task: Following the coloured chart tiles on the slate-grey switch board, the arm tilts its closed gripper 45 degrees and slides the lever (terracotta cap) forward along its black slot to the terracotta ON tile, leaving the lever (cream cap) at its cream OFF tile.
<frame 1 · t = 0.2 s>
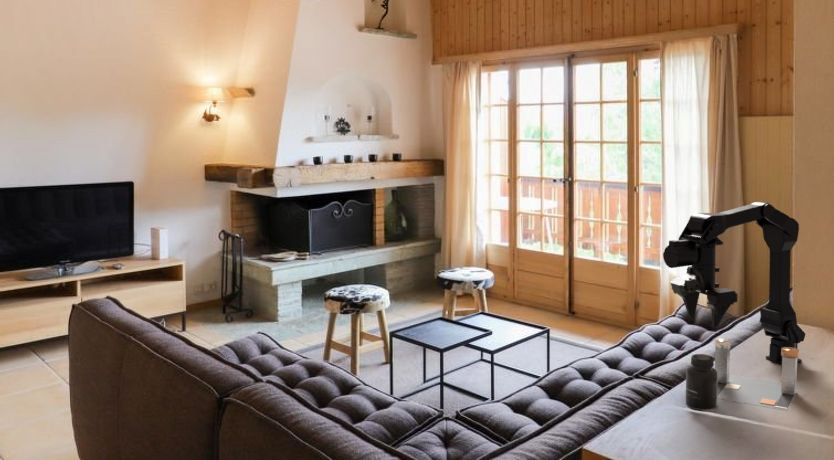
hand: (703, 322, 181), 14 cm above the table, tool pointing down, fingers open, 9 cm apart
lever 1: (722, 360, 176), point 6 cm above the table, slide at 0.0 cm
switch board: (752, 392, 171), on the table
supplement bottle: (701, 407, 165), on the table
lever 2: (789, 371, 167), point 6 cm above the table, slide at 0.0 cm
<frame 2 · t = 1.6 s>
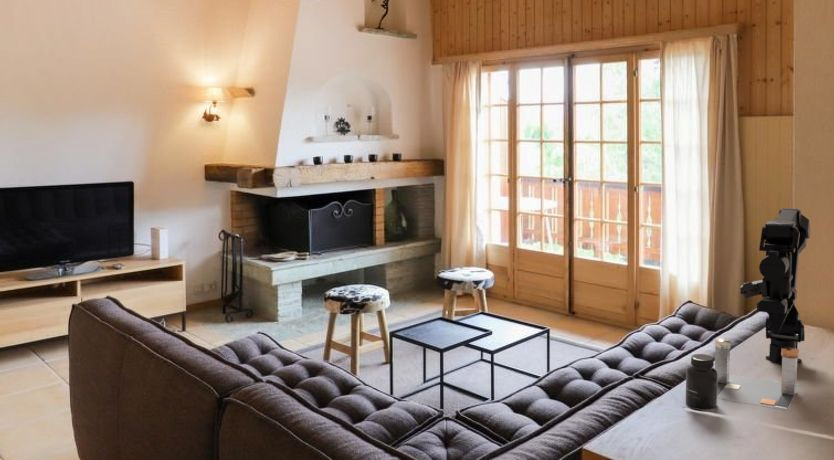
hand: (776, 332, 178), 12 cm above the table, tool pointing down, fingers closed
nothing on the table moved.
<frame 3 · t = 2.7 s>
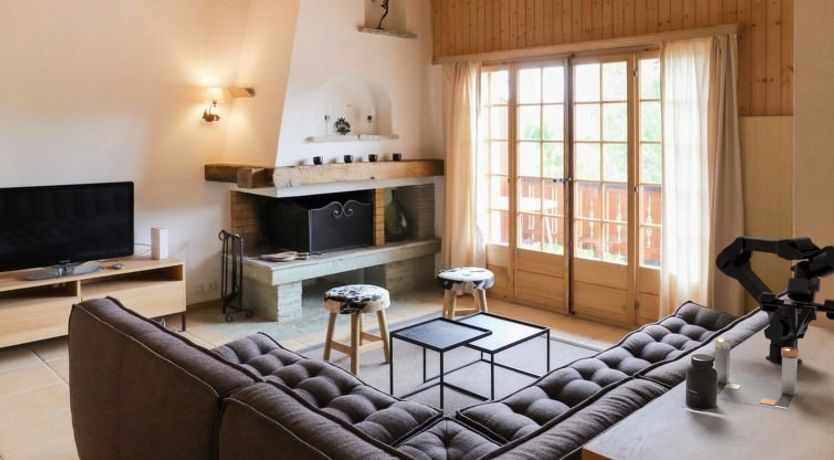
hand: (795, 335, 174), 12 cm above the table, tool tilted 45°, fingers closed
nothing on the table moved.
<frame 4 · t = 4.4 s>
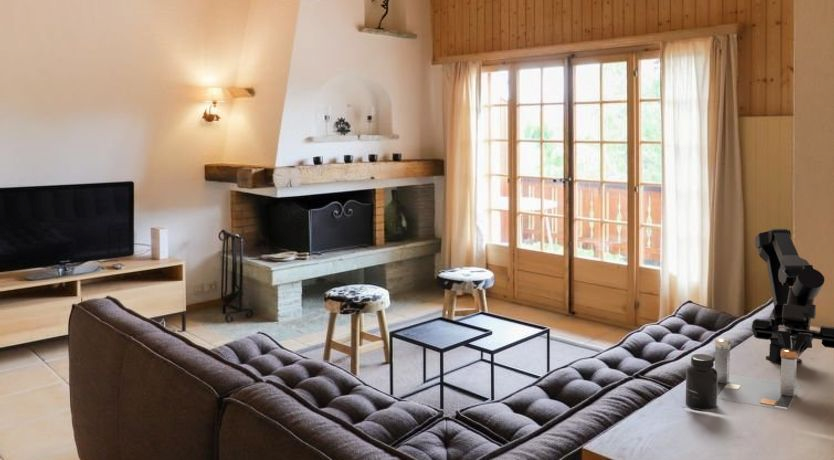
hand: (790, 363, 168), 8 cm above the table, tool tilted 45°, fingers closed, pressing on lever 2
lever 2: (788, 372, 167), point 6 cm above the table, slide at 1.0 cm, touching gripper
everything else where it was.
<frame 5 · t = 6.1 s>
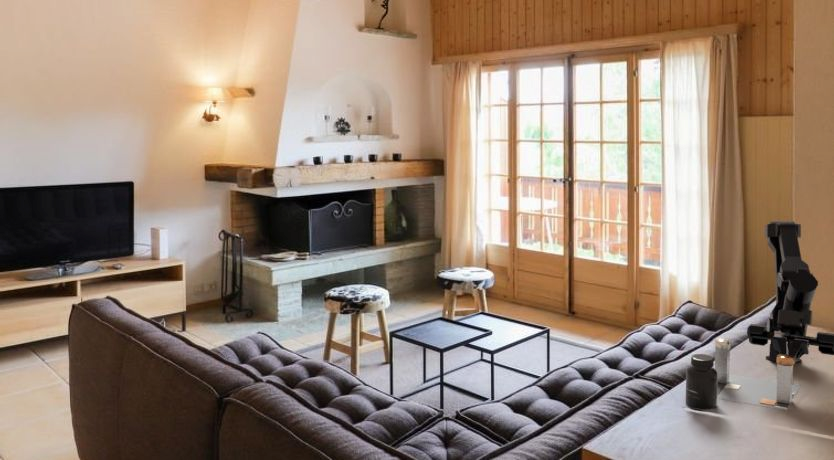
hand: (786, 370, 164), 8 cm above the table, tool tilted 45°, fingers closed
lever 2: (784, 378, 163), point 6 cm above the table, slide at 6.0 cm
everything else where it was.
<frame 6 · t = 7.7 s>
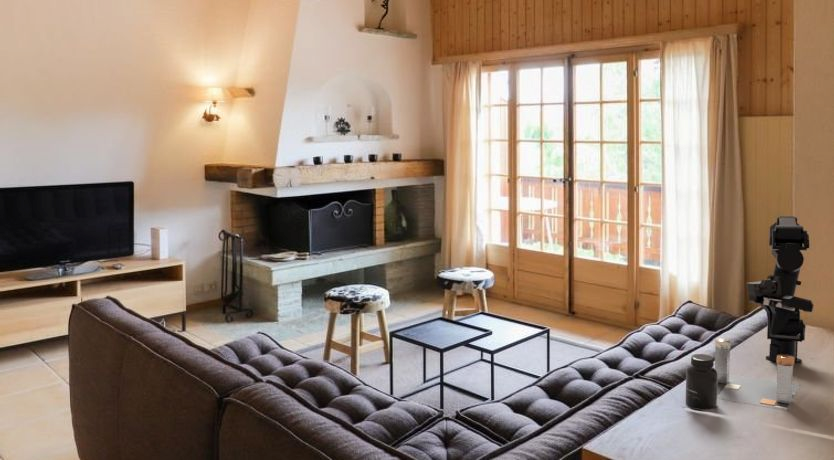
hand: (772, 334, 177), 12 cm above the table, tool tilted 20°, fingers closed
nothing on the table moved.
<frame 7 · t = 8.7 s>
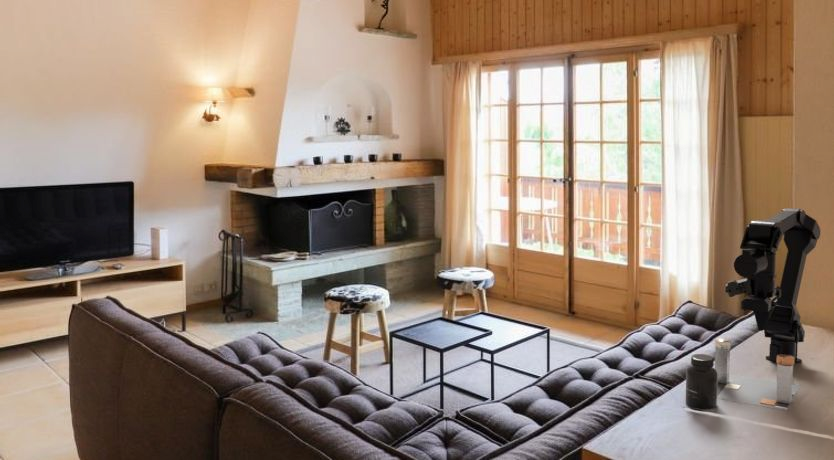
hand: (760, 330, 181), 12 cm above the table, tool pointing down, fingers closed
nothing on the table moved.
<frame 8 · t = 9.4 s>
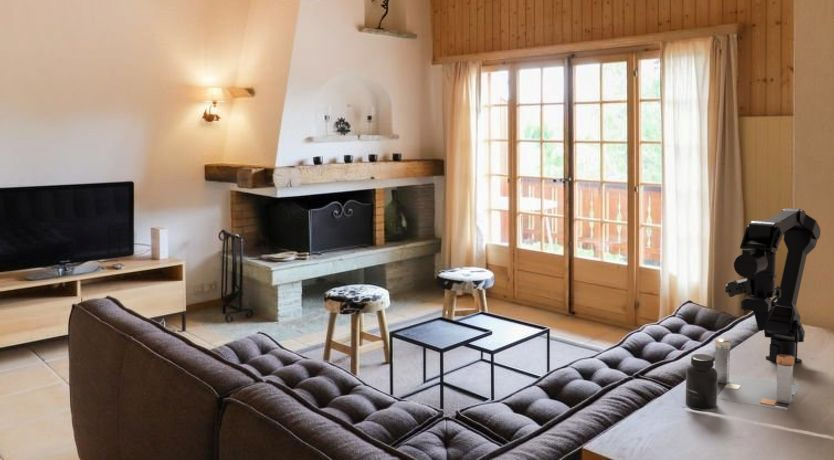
hand: (760, 330, 181), 12 cm above the table, tool pointing down, fingers closed
nothing on the table moved.
at the end: lever 2 slide at 6.0 cm; lever 1 slide at 0.0 cm; supplement bottle moved 0.2 cm from its start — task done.
